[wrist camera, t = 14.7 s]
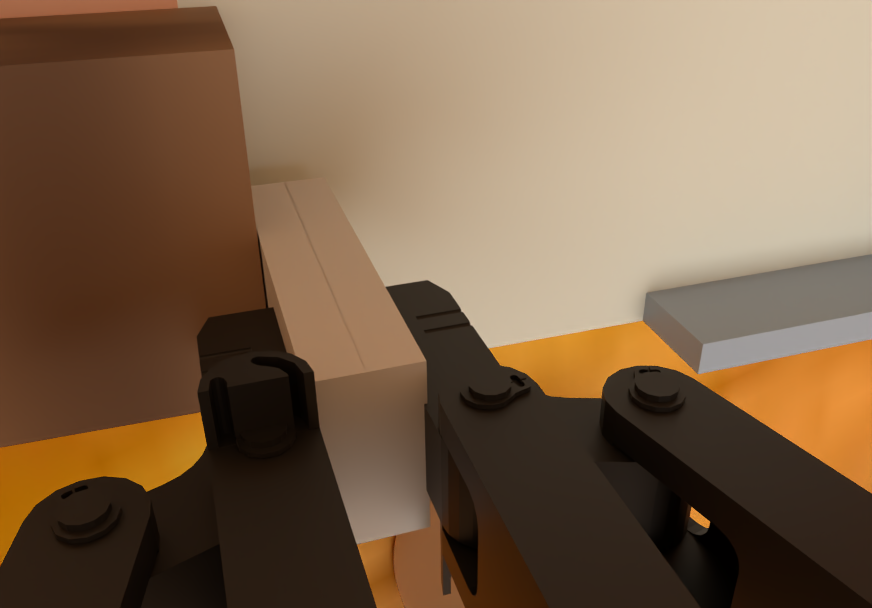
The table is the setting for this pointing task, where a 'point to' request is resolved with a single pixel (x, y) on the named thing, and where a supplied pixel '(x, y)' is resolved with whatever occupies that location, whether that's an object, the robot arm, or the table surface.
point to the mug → (422, 568)
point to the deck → (580, 156)
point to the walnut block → (117, 215)
